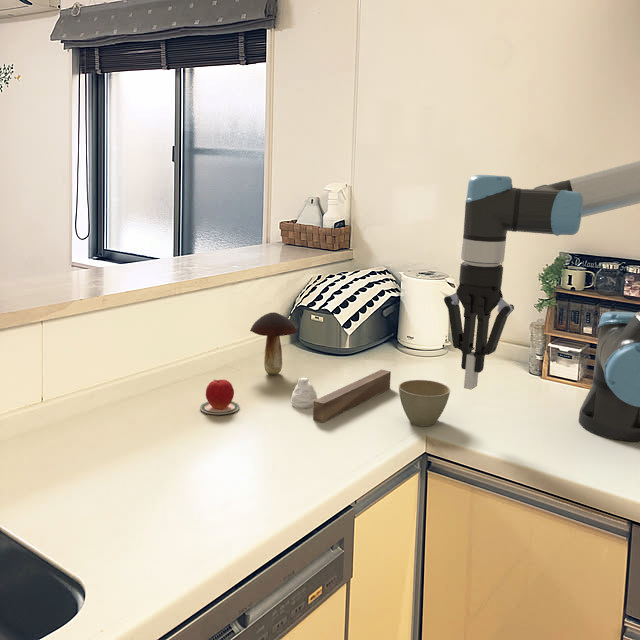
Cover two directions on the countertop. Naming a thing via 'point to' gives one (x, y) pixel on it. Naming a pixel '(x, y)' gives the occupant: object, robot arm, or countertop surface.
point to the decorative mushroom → (273, 338)
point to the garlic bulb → (303, 394)
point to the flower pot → (423, 400)
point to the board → (350, 396)
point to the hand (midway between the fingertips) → (470, 386)
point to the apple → (219, 398)
